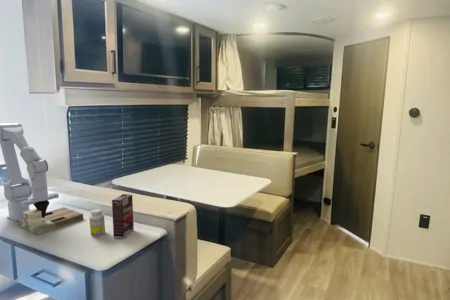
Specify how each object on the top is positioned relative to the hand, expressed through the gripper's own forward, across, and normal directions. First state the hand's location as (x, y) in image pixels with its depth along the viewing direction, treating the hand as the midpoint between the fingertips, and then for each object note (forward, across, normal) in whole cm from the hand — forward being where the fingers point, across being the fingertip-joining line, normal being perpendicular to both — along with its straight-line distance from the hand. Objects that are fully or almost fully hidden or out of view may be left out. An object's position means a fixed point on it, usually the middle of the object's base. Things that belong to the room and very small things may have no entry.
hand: (42, 217), depth 137 cm
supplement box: (+4, +14, -37) cm, 40 cm away
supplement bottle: (+4, +8, -28) cm, 29 cm away
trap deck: (+4, +4, 0) cm, 5 cm away
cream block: (+1, -4, 0) cm, 4 cm away
